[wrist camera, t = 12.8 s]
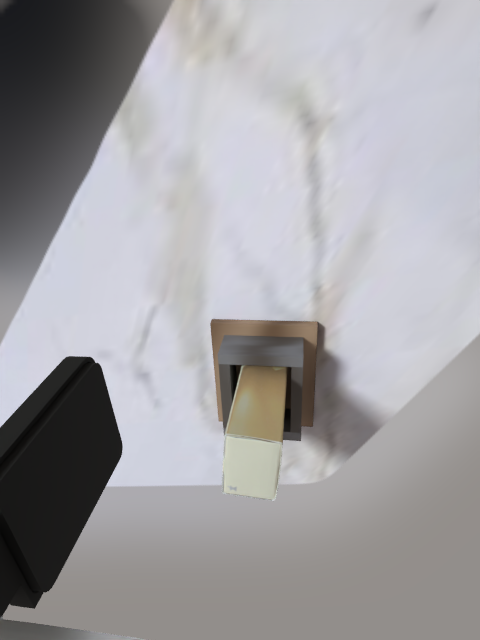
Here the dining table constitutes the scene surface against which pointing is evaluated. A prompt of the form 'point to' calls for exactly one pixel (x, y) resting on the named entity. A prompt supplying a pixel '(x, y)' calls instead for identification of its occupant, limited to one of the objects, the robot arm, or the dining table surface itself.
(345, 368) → the dining table surface
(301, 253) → the dining table surface
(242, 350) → the sleeve stand
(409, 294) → the dining table surface
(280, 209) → the dining table surface
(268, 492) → the skincare box
